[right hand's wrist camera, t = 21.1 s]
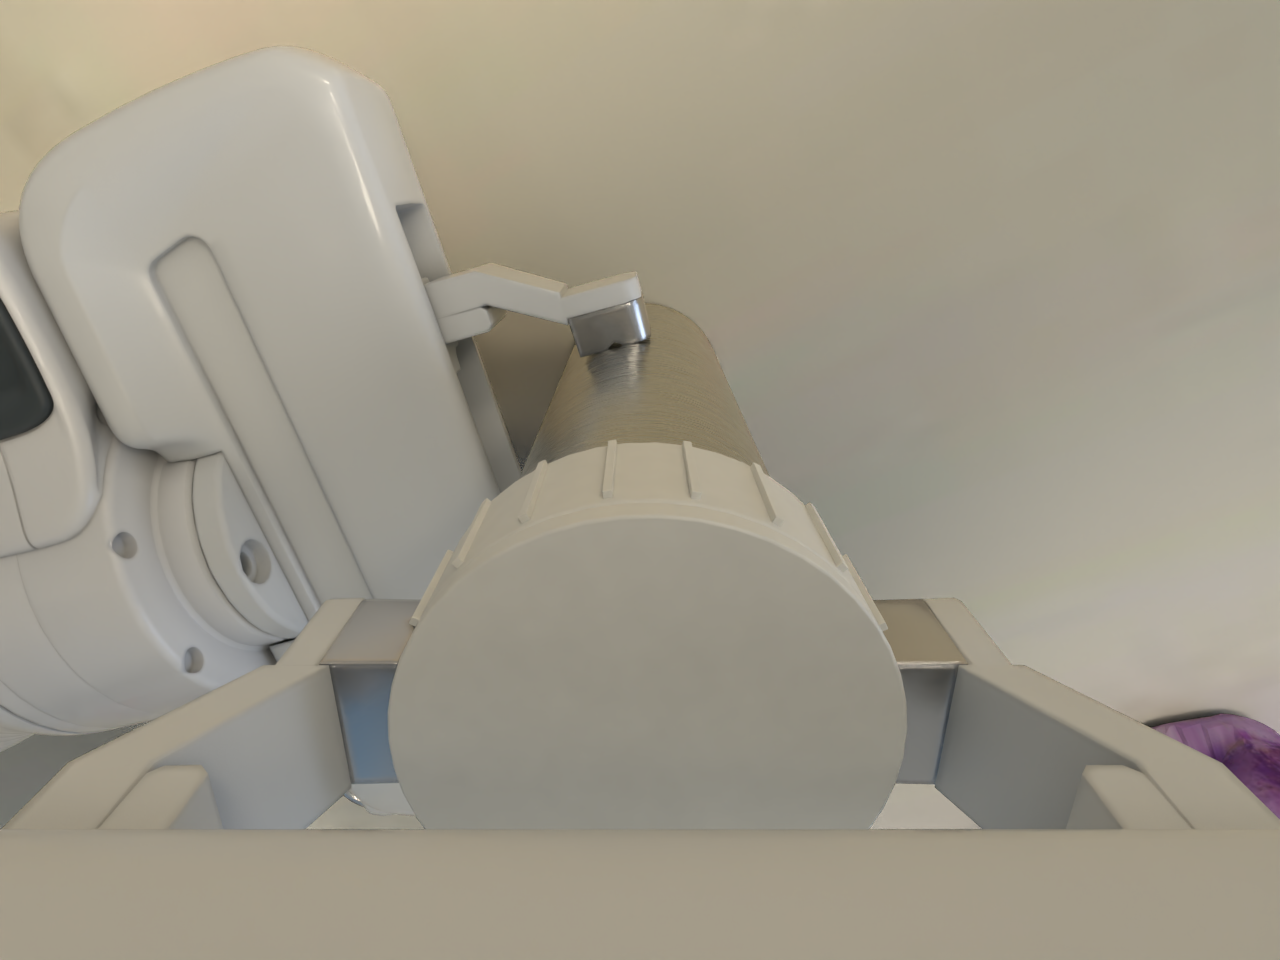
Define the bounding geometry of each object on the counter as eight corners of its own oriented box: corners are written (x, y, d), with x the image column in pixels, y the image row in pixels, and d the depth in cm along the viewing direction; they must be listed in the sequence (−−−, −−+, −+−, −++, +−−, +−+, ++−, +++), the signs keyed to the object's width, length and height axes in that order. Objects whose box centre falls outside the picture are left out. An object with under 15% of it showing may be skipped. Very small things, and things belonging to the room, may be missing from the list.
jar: (748, 390, 24) (927, 727, 9) (632, 478, 25) (620, 905, 10) (654, 269, 23) (681, 434, 8) (535, 369, 24) (357, 681, 9)
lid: (600, 849, 12) (593, 994, 10) (347, 591, 10) (268, 699, 8) (929, 676, 11) (1002, 798, 8) (706, 343, 9) (727, 393, 7)
